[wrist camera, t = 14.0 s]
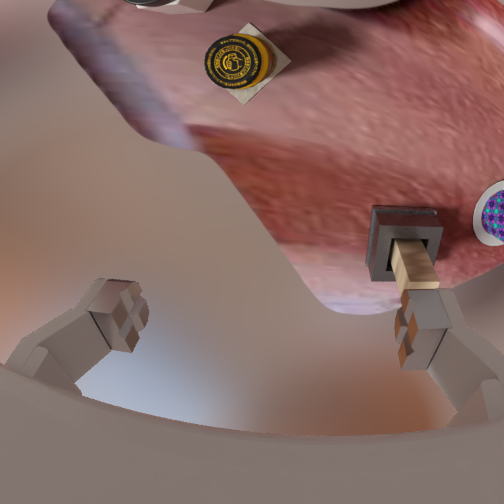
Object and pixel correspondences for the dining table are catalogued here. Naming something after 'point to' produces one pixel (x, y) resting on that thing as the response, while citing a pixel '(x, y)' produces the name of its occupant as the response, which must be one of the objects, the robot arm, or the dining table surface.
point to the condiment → (244, 62)
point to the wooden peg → (412, 265)
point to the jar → (173, 5)
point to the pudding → (490, 216)
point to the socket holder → (399, 235)
